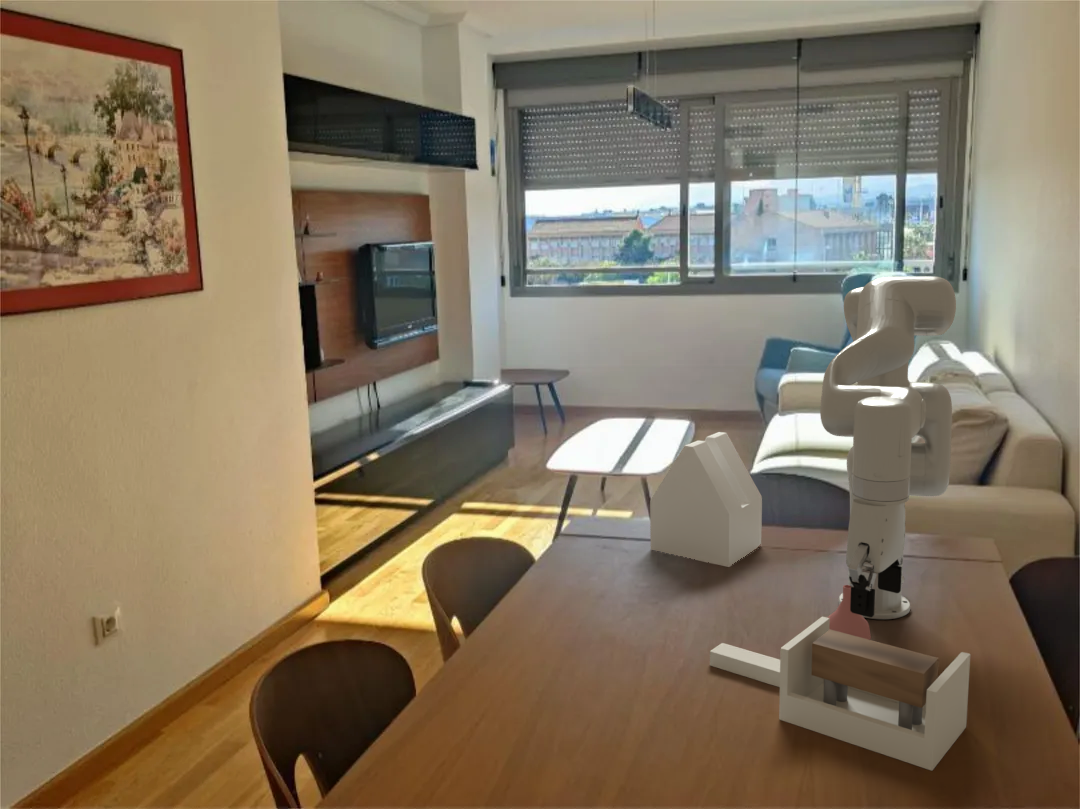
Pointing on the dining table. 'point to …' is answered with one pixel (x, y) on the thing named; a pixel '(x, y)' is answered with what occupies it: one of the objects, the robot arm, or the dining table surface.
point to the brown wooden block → (874, 667)
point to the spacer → (746, 663)
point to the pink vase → (848, 618)
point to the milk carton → (707, 505)
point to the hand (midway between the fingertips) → (875, 602)
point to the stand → (873, 707)
